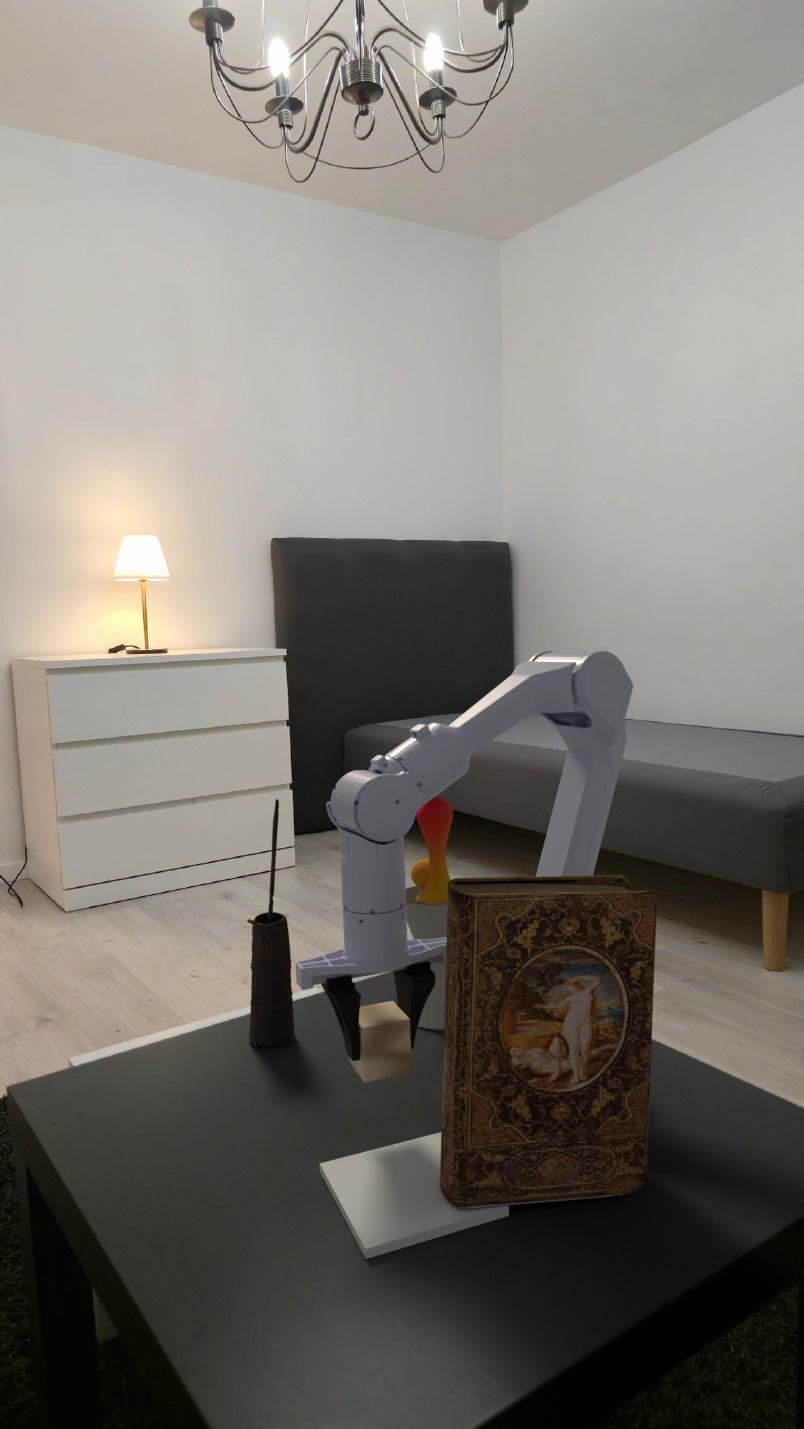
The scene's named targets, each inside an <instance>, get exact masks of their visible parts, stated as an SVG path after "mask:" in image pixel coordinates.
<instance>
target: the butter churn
mask: <svg viewBox="0 0 804 1429" xmlns="http://www.w3.org/2000/svg"><path fill="white" fill-rule="evenodd" d="M279 800H280V799H278V798H275V802H274V803H275V804H274V810H273V811H274V812H273V818H272V830H271V831H272V832H271V833H272V834H271V836H272V837H271V860H270V864H271V865H270V874H269V875H270V876H269V898H268V900H269V901H268V908H267V909H268V911H267V912H263V913H259V914H258V915H256V916H255V917H254V919H250V918H248V919H247V920H246V922H247V923H249V924H251V927H252V928H251V936H252V937H251V939H252V940H251V960H250V961H251V963H250V971H251V982H250V983H251V987H250V988H251V990H250V992H251V993H250V994H251V995H250V1004H249V1005H250V1009H249V1010H250V1014H249V1015H250V1016H249V1033H248V1034H249V1036H248V1041H249V1043H250V1044H251V1045H252V1046H254V1047H265V1048H267V1047H268V1048H269V1047H271V1048H272V1047H273V1048H279V1047H283V1046H286V1045H289V1044H291V1043H292V1042H293V1041H294V1040H295V1037H296V1036H295V1035H296V1034H295V1021H294V1020H295V1019H294V1018H295V1016H294V1006H293V1005H294V1004H293V1003H294V999H293V988H292V978H291V977H292V968H293V967H292V958H291V957H292V956H291V944H290V933H289V924H288V920H287V915H286V916H285V914H283V913H280V912H277V911H274V899H273V898H274V894H275V884H276V883H275V882H276V864H277V863H276V862H277V859H276V858H277V845H278V830H279V829H278V828H279V809H280V801H279Z"/></svg>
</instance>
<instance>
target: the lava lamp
mask: <svg viewBox="0 0 804 1429" xmlns="http://www.w3.org/2000/svg"><path fill="white" fill-rule="evenodd" d="M453 819H454V812H453V808H452V805H451V804H450V803H449V802H448V801H447V800H446V799H445V798H443V797H440V796H435V797H434V798H432V799H431V800H430V801H428V802H427V803H426V804H424V805H423V806H422V807H421V808H419V809H418V811H417V813H416V820H417V822H418V825H419V828H420V829H421V832H422V835H423V838H424V841H425V844H426V848H427V854H428V858H423V859H419V860H417V861H416V862H415V863H414V864H413V866H412V867H411V873H410V876H411V877H410V878H411V881H412V883H414V885H415V886H410V887H407V888H406V914H407V927H408V928H409V931H410V933H411V936H412V938H413V939H412V940H418V939H435V938H443V937H446V938H447V906H448V882H449V881H450V880H452V879H451V878H450V874H449V869H448V866H447V865H448V864H447V853H446V852H447V851H446V850H447V842H448V837H449V834H450V829H451V826H452V822H453ZM430 967H431V970H432V971H433V972H434V973H435V976H436V981H435V986H434V988H433V990H432V991H431V993H430V995H429V997H428V999H427V1001H426V1003H425V1006H424V1008H423V1011H422V1013H421V1017H420V1020H419V1023H418V1026H419V1027H424V1028H431V1029H444V1015H445V978H446V965H444V964H442V963H437V964H431V965H430Z"/></svg>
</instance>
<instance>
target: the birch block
mask: <svg viewBox="0 0 804 1429" xmlns="http://www.w3.org/2000/svg"><path fill="white" fill-rule="evenodd" d="M359 1036H360V1047H361V1052H360V1060H357V1061H352V1060H351V1058H350V1057H349V1056H348V1062H349V1063H350V1065H351V1066H352V1068H353V1069H354V1070H355V1072H356V1073H357V1075H358V1076H359V1078H360V1079H361V1080H362V1082H363V1083H365V1084H367V1083H370V1082H374V1081H380V1080H384V1079H390V1078H393V1077H398V1076H402V1075H407V1074H411V1073H413V1069H412V1067H413V1066H412V1049H411V1037H410V1019H409V1018H408V1016H407V1015H406V1014H405V1013H404V1012H403V1011H402V1010H401V1009H400V1008H399V1007H398V1005H397V1004H396V1003H395V1001H394V1000H390V1001H384V1002H378V1003H374V1004H373V1003H372V1004H368V1005H362V1006H360V1011H359Z"/></svg>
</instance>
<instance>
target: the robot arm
mask: <svg viewBox="0 0 804 1429" xmlns="http://www.w3.org/2000/svg"><path fill="white" fill-rule="evenodd" d="M633 689H634V683H633V681H632V680H631V678H630V675H629V674H628V672H627V669H626V668H625V666H624V664H623V662H622V661H621V660H620V658H619V657H618V656H616V655H615V654H614V653H612V652H610V651H605V650H597V651H592V652H585V651H584V652H581V651H580V652H578V651H576V652H575V651H574V652H569V651H568V652H564V651H563V652H560V651H559V652H558V651H557V652H556V651H552V650H542V651H539V652H538V653H536V654H534V655H532V656H531V658H530V659H528V660H527V661H524V662H522V663H521V662H520V663H519V664H517V665H516V666H515V668H514V669H513V672H512V674H511V675H509V676H508V677H506V679H505V680H503V681H502V682H501V683H500V684H498V685H497V686H496V687H494V688H493V689H492V690H491V691H489V693H487V694H486V695H484V696H483V697H482V698H481V699H480V700H478V701H477V702H476V703H475V704H474V705H472V706H471V707H470V708H468V709H467V710H466V711H465V712H464V713H463V714H461V715H460V716H459V717H457V718H456V719H455V720H454V721H453V722H451V723H450V724H449V725H447V724H442V723H439V722H431V723H429V724H421V723H418V724H417V725H415V726H413V727H412V728H411V729H410V730H409V734H410V735H411V736H410V737H409V738H407V739H406V740H405V741H403V742H402V743H400V744H399V745H397V746H396V747H395V748H393V749H392V750H390V751H388V753H386V754H385V755H380V754H377V755H376V756H374V757H373V758H371V759H370V764H371V765H370V766H369V768H368V770H366V769H365V770H364V769H359V770H358V769H356V770H352V771H349V772H347V773H346V774H344V775H343V776H342V777H341V778H340V779H338V781H337V782H336V783H335V788H333V789H332V793H331V796H330V801H328V802H326V803H325V804H326V805H325V806H326V807H325V808H326V812H327V814H328V818H330V821H331V822H332V823H333V824H334V826H335V827H336V828H337V830H338V832H339V847H340V848H339V849H340V873H341V874H340V876H341V877H340V878H341V898H342V899H341V900H342V901H341V903H342V922H343V944H344V945H343V946H344V948H341V949H337V950H334V951H332V952H328V953H325V954H322V955H318V956H316V957H313V958H308V959H303V960H299V961H298V960H297V961H295V975H296V976H295V979H296V984H297V986H298V987H299V988H300V989H301V990H302V991H305V990H310V989H311V990H312V989H313V988H314V986H316V985H320V986H322V989H323V990H324V992H325V995H326V996H327V998H328V1000H329V1002H330V1005H331V1006H332V1009H333V1012H334V1014H335V1016H336V1019H337V1021H338V1024H339V1026H340V1030H341V1034H342V1037H343V1038H342V1039H343V1042H344V1046H345V1051H346V1054H347V1055H348V1058H349V1057H350V1058H351V1060H352V1061H357V1060H360V1052H361V1047H360V1036H359V1011H360V1007H361V1001H362V1000H361V999H362V994H360V992H359V991H358V990H357V989H356V982H353V979H356V978H362V977H368V976H373V975H379V974H384V973H390V972H392V973H393V978H394V979H393V980H394V984H395V986H394V987H395V993H396V1001H397V1002H396V1003H397V1004H396V1005H397V1006H398V1007H399V1008H400V1009H401V1010H402V1011H403V1012H404V1013H405V1014H406V1015H407V1016H408V1018H409V1019H410V1037H411V1050H414V1046H415V1041H416V1035H417V1031H418V1028H417V1027H418V1023H419V1020H420V1017H421V1013H422V1011H423V1008H424V1006H425V1003H426V1001H427V999H428V997H429V995H430V993H431V991H432V990H433V988H434V986H435V981H436V976H435V973H434V972H433V971H432V970H431V967H430V965H431V964H437V963H442V964H444V965H446V942H447V938H446V937H443V938H435V939H418V940H414V939H408V923H407V914H406V889H407V888H406V871H405V870H406V869H405V868H406V866H405V843H404V842H405V840H404V836H405V835H406V834H407V833H409V830H410V829H411V828H412V826H413V824H414V823H415V822H414V821H415V819H416V817H417V811H418V809H419V808H421V807H422V806H423V805H424V804H426V803H427V802H428V801H430V800H431V799H432V798H434V797H437V796H438V795H439V794H441V793H442V792H443V791H445V790H446V789H447V788H449V787H450V786H452V784H454V783H455V782H456V781H458V780H459V779H461V777H463V776H464V775H466V774H467V773H468V772H469V770H470V764H471V763H470V762H471V755H472V754H474V753H475V752H476V751H478V750H479V749H481V748H482V747H484V746H485V745H488V743H490V742H492V741H493V740H495V739H496V738H498V737H499V736H501V735H502V734H504V733H505V732H507V731H509V730H510V729H512V728H513V727H515V726H516V725H518V724H519V723H521V722H523V721H524V720H525V719H527V718H528V717H530V716H531V715H534V714H539V715H540V716H541V717H542V718H543V719H544V720H545V721H546V722H548V723H549V725H551V726H552V727H553V728H554V729H555V730H556V731H557V732H558V734H559V735H560V737H561V739H562V740H563V742H564V744H565V745H566V747H567V753H566V758H565V762H564V765H563V769H562V773H561V776H560V781H559V784H558V788H557V792H556V796H555V800H554V801H555V802H554V805H553V808H552V812H551V816H550V820H549V823H548V828H547V832H546V836H545V838H544V839H545V840H544V843H543V847H542V851H541V854H540V859H539V863H538V866H537V871H536V874H535V877H546V876H594V873H595V869H596V864H597V861H598V857H599V853H600V848H601V844H602V841H603V837H604V834H605V829H606V826H607V821H608V816H609V813H610V808H611V804H612V801H613V799H614V798H613V797H614V793H615V791H616V790H615V788H616V786H617V782H618V777H619V774H620V770H621V765H622V762H623V758H624V754H625V751H626V750H625V749H626V745H627V744H626V743H627V732H626V731H627V729H626V728H627V726H626V722H627V721H626V716H627V713H628V709H629V705H630V701H631V697H632V692H633Z"/></svg>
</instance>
